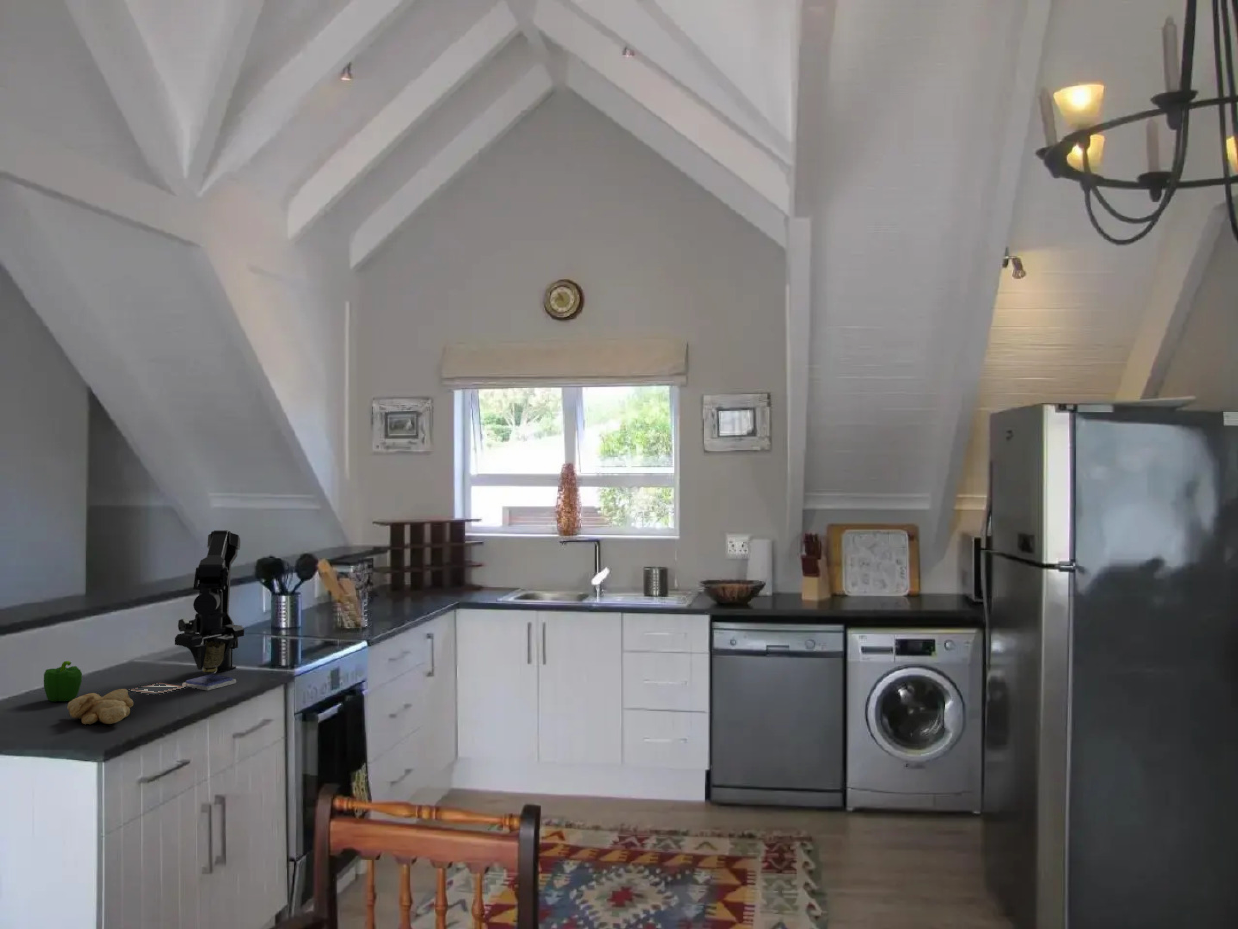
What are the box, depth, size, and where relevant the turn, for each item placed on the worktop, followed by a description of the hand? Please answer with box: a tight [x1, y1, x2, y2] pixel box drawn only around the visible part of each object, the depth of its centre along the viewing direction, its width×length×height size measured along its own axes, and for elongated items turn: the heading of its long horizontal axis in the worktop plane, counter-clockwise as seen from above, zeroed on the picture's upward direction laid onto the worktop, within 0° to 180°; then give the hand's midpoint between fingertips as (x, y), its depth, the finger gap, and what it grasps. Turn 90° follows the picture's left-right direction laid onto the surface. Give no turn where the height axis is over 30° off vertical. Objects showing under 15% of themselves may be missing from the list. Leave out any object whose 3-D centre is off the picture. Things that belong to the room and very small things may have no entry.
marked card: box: [131, 682, 185, 694], centre depth 251 cm, size 10×10×1 cm
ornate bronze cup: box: [201, 641, 225, 675], centre depth 257 cm, size 8×7×8 cm
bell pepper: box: [43, 660, 83, 703], centre depth 238 cm, size 8×8×10 cm
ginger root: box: [66, 688, 134, 725], centre depth 221 cm, size 16×16×8 cm
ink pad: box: [182, 674, 237, 691], centre depth 257 cm, size 10×9×2 cm
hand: (209, 667), depth 257 cm, fingers closed on ornate bronze cup, 6 cm apart
